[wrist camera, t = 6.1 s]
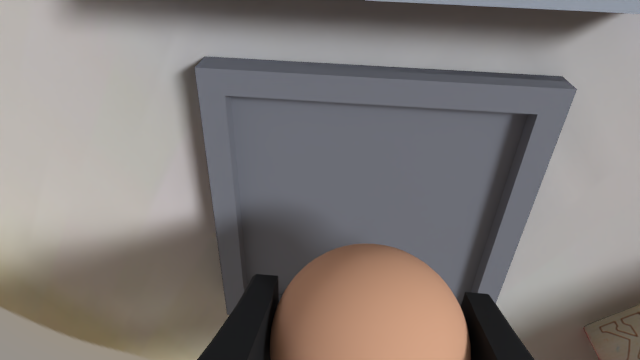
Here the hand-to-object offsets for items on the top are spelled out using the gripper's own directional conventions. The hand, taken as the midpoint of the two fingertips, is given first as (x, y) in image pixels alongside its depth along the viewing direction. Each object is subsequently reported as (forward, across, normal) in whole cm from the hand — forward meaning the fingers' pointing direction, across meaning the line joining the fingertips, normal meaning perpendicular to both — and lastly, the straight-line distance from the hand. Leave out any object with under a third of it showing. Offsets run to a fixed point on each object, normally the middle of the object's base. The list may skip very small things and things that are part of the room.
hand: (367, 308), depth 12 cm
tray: (+5, 0, 0) cm, 5 cm away
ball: (+1, 0, 0) cm, 1 cm away
